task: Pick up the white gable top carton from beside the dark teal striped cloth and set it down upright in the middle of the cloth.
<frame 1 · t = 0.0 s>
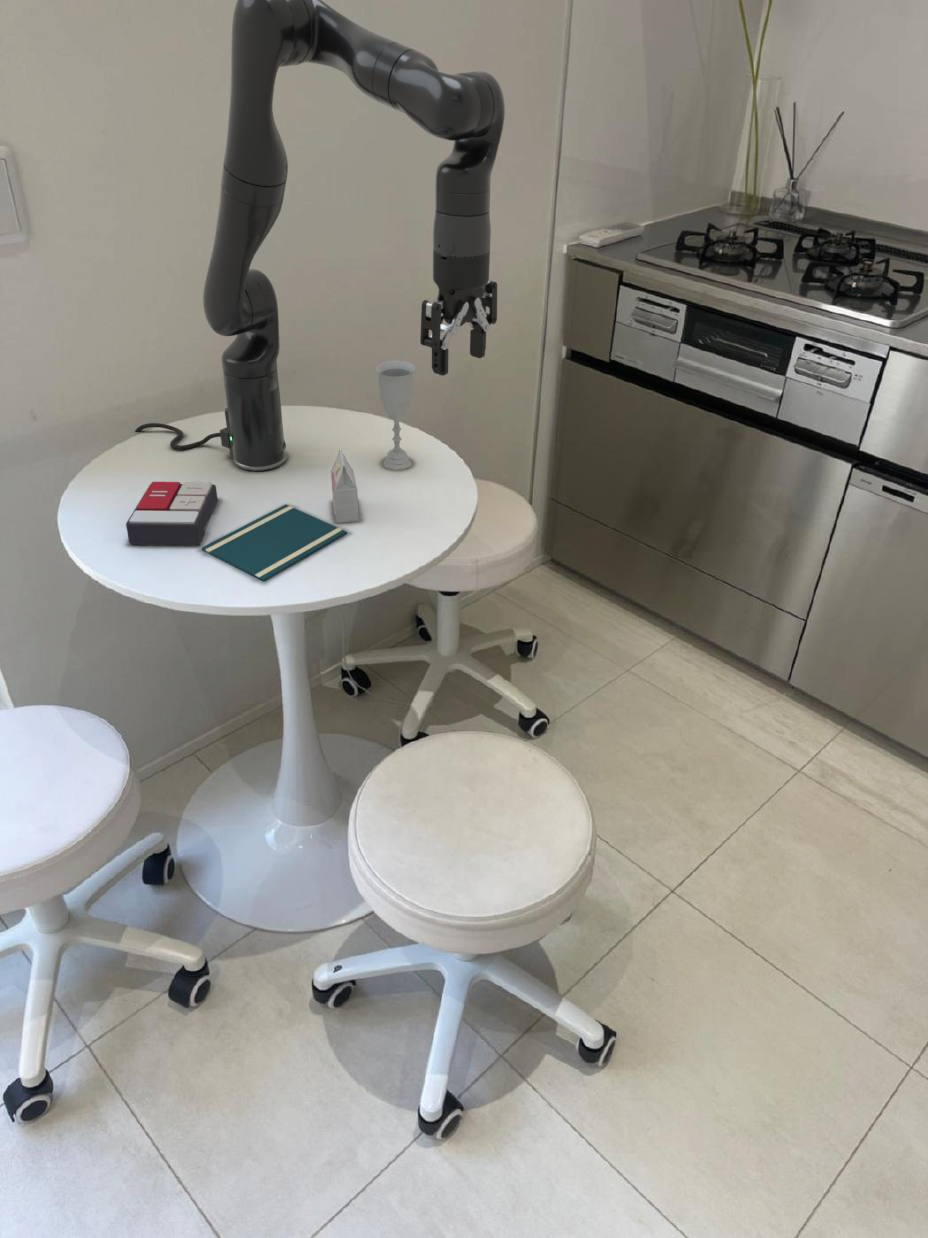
hand: (459, 364, 135), 29 cm above the table, tool pointing down, fingers open, 8 cm apart
chalice: (397, 464, 174), on the table
white gable top carton: (345, 512, 160), on the table
calculator: (175, 522, 156), on the table
cloth: (275, 541, 151), on the table
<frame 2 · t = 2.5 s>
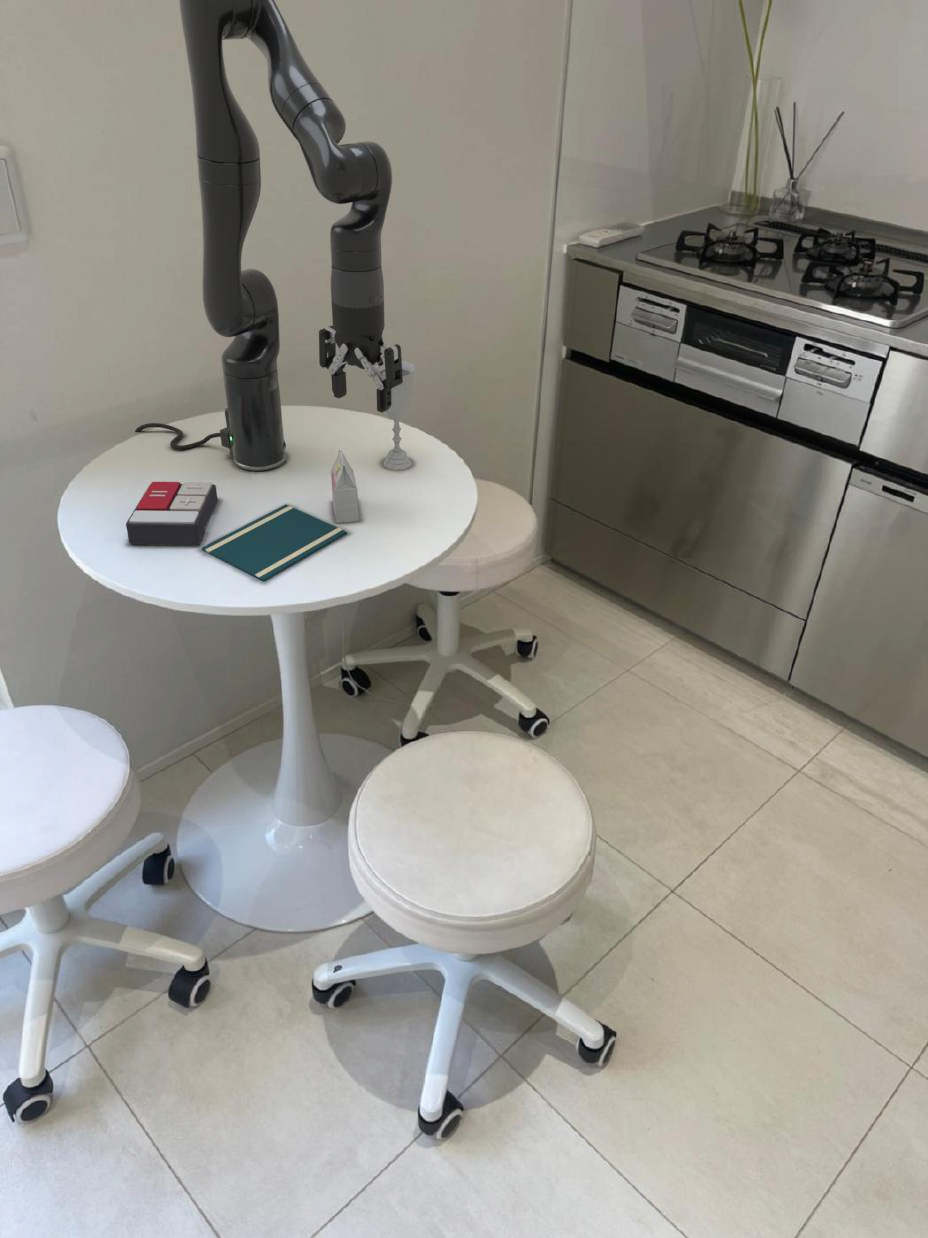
hand: (361, 403, 146), 20 cm above the table, tool pointing down, fingers open, 8 cm apart
nothing on the table moved.
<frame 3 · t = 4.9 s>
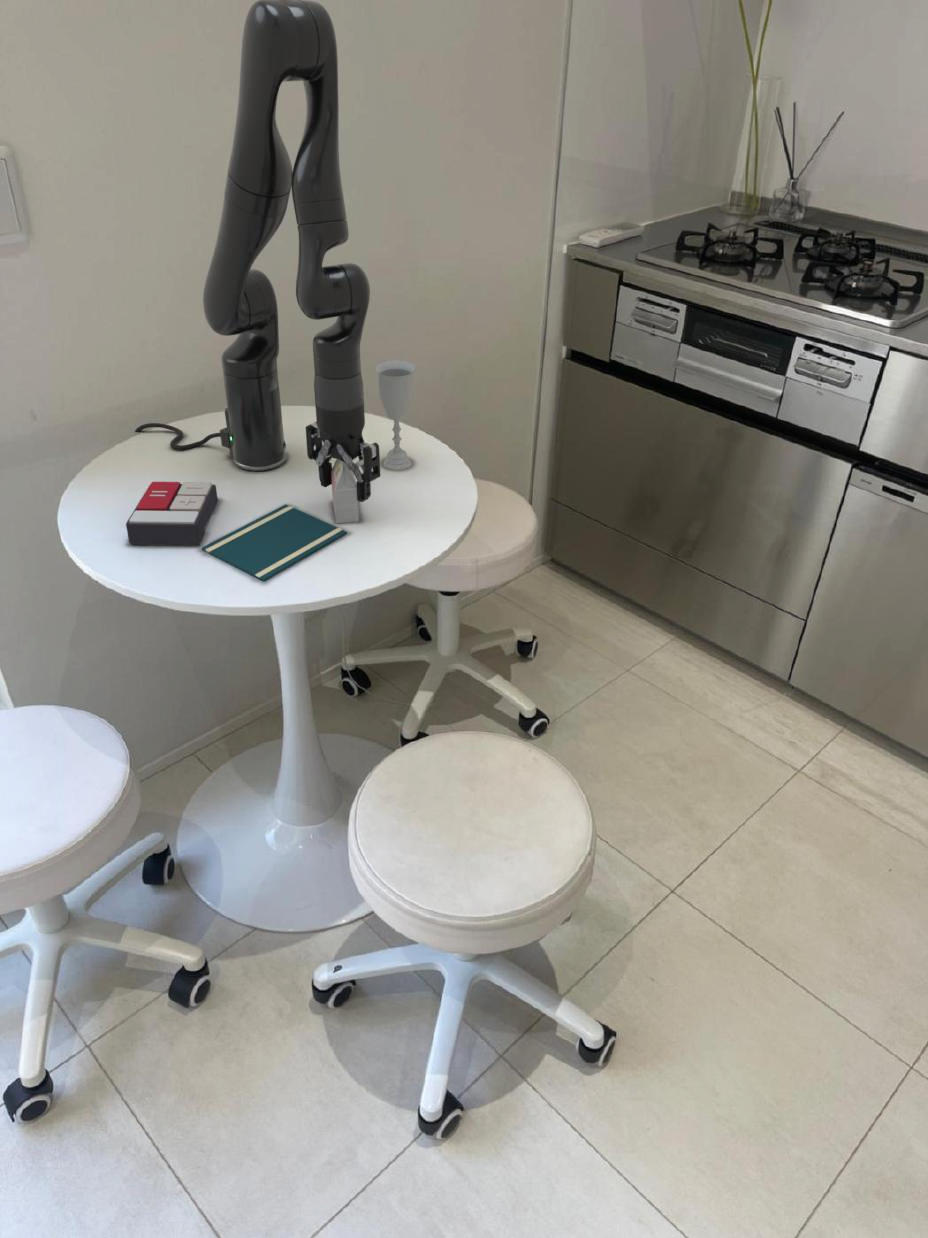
hand: (344, 492, 157), 4 cm above the table, tool pointing down, fingers closed on white gable top carton, 7 cm apart
white gable top carton: (345, 513, 160), on the table, touching gripper
everything else where it was.
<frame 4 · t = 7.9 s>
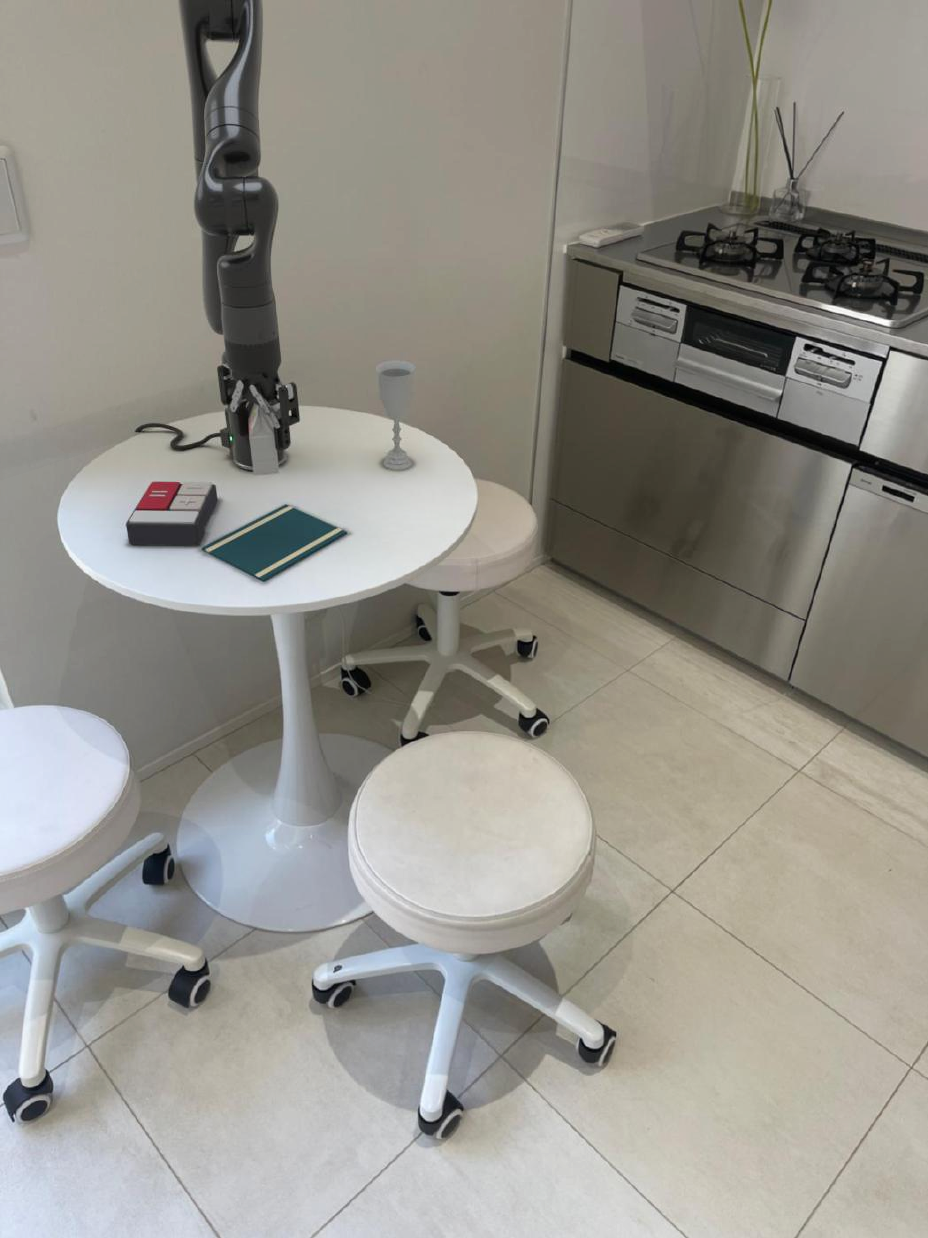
hand: (263, 441, 142), 17 cm above the table, tool pointing down, fingers closed on white gable top carton, 7 cm apart
white gable top carton: (265, 465, 144), point 13 cm above the table, touching gripper
everything else where it was.
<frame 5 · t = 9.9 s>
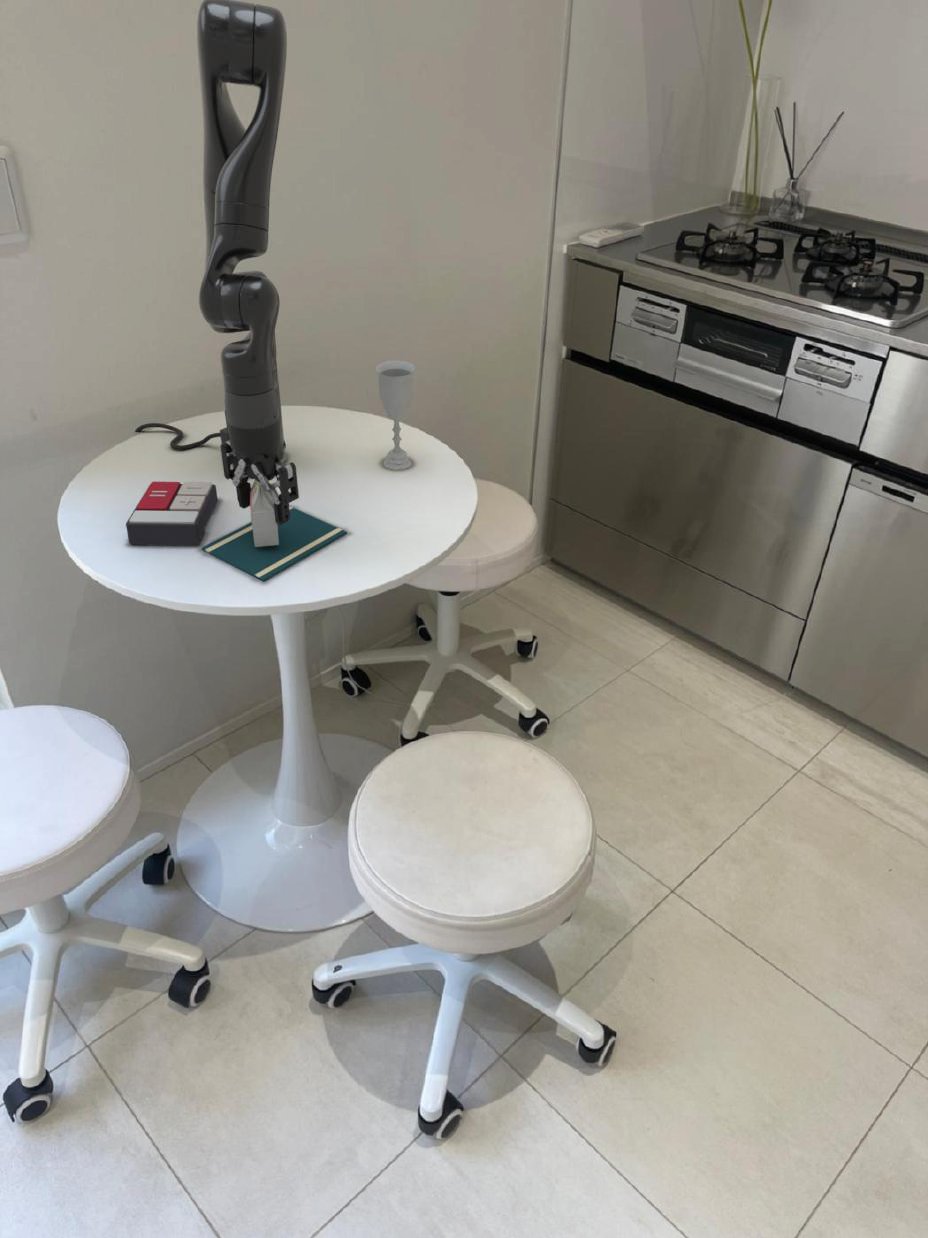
hand: (264, 514, 148), 5 cm above the table, tool pointing down, fingers closed on white gable top carton, 7 cm apart
white gable top carton: (266, 535, 151), point 1 cm above the table, touching gripper
everything else where it was.
when the fingers open (4 cm above the table, at t = 10.9 s): white gable top carton stays where it is, resting on cloth.
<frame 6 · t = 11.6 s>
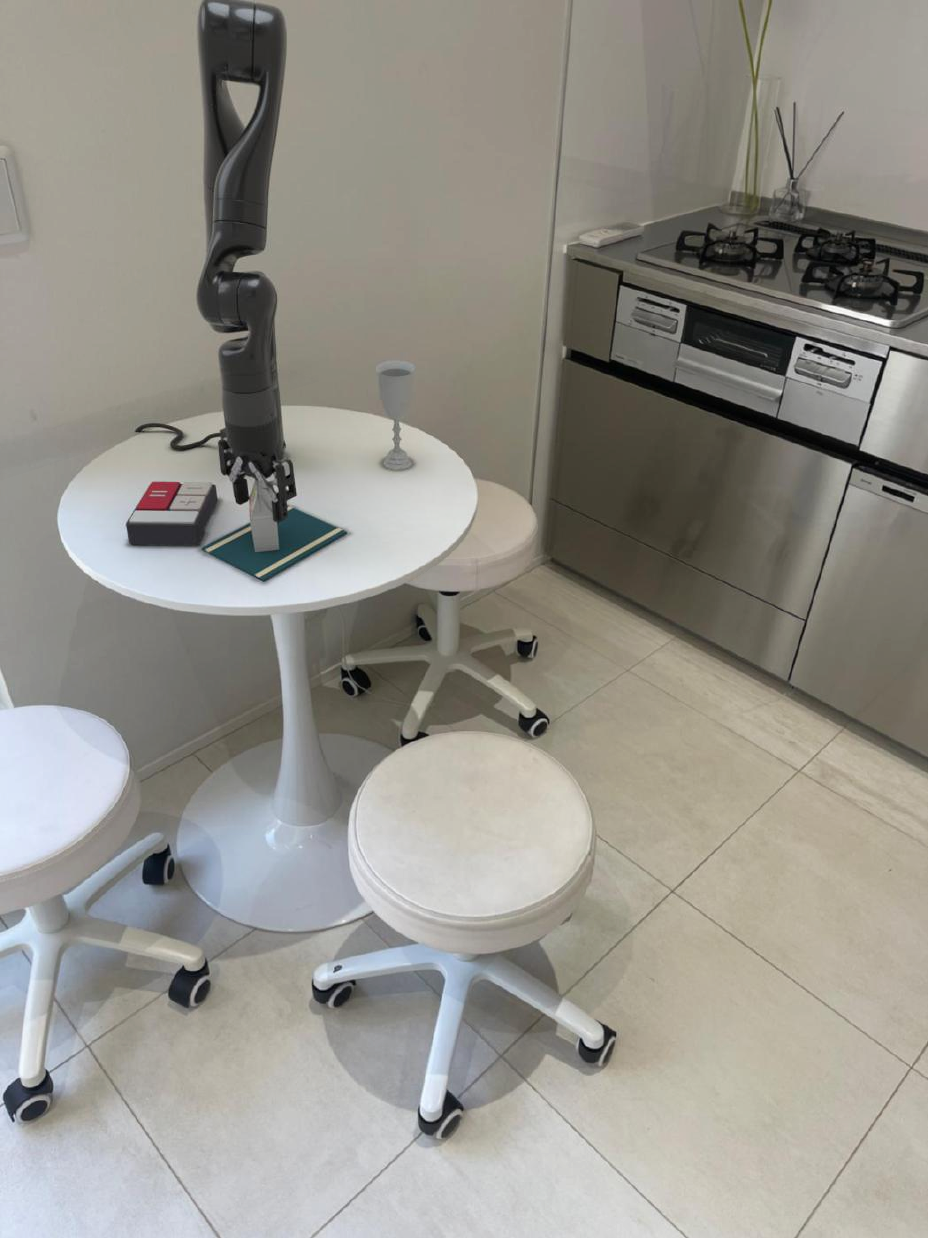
hand: (261, 511, 148), 6 cm above the table, tool pointing down, fingers open, 8 cm apart
white gable top carton: (266, 540, 151), resting on cloth, touching gripper
everything else where it was.
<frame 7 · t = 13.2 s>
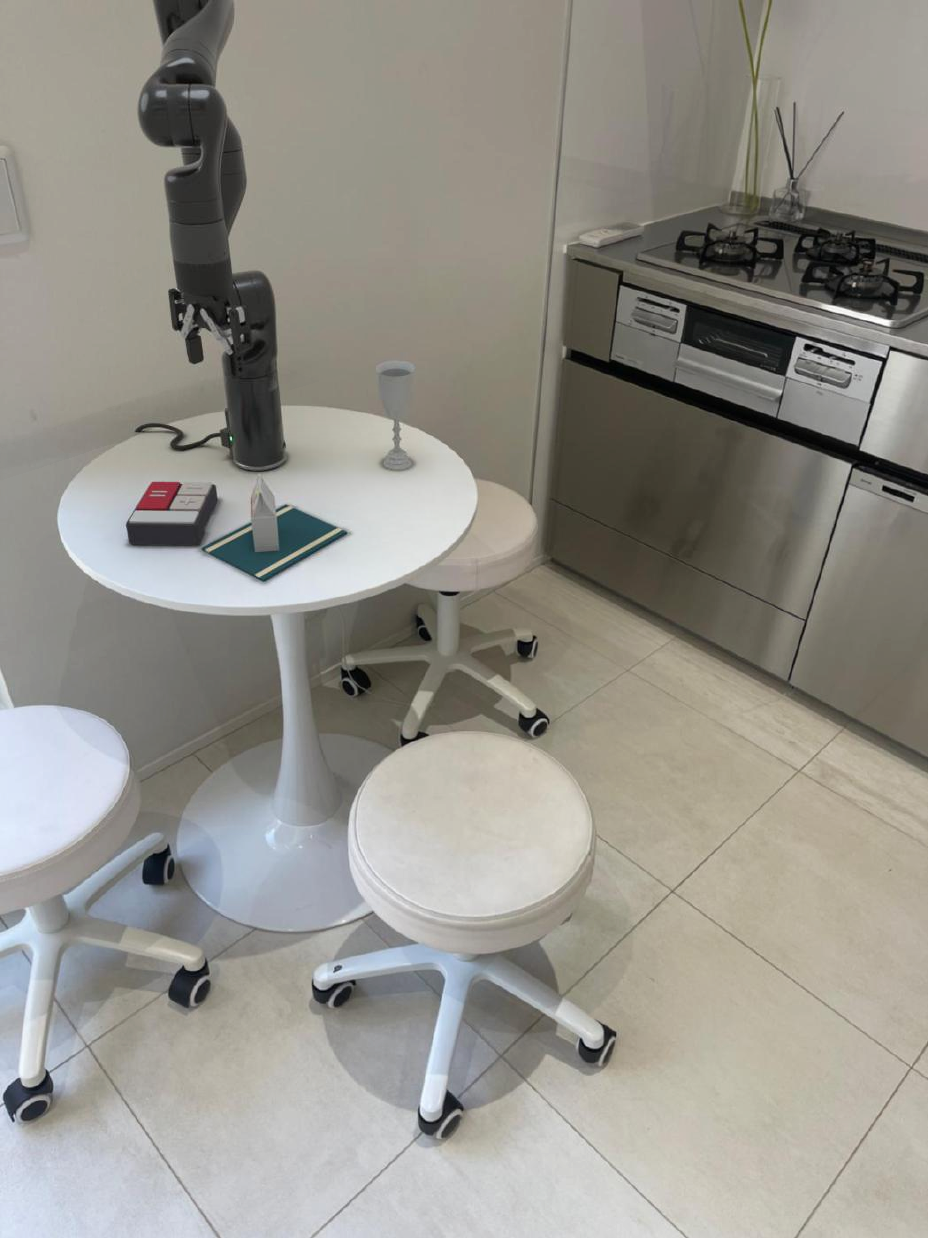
hand: (216, 369, 137), 27 cm above the table, tool pointing down, fingers open, 8 cm apart
white gable top carton: (266, 541, 151), resting on cloth
everything else where it was.
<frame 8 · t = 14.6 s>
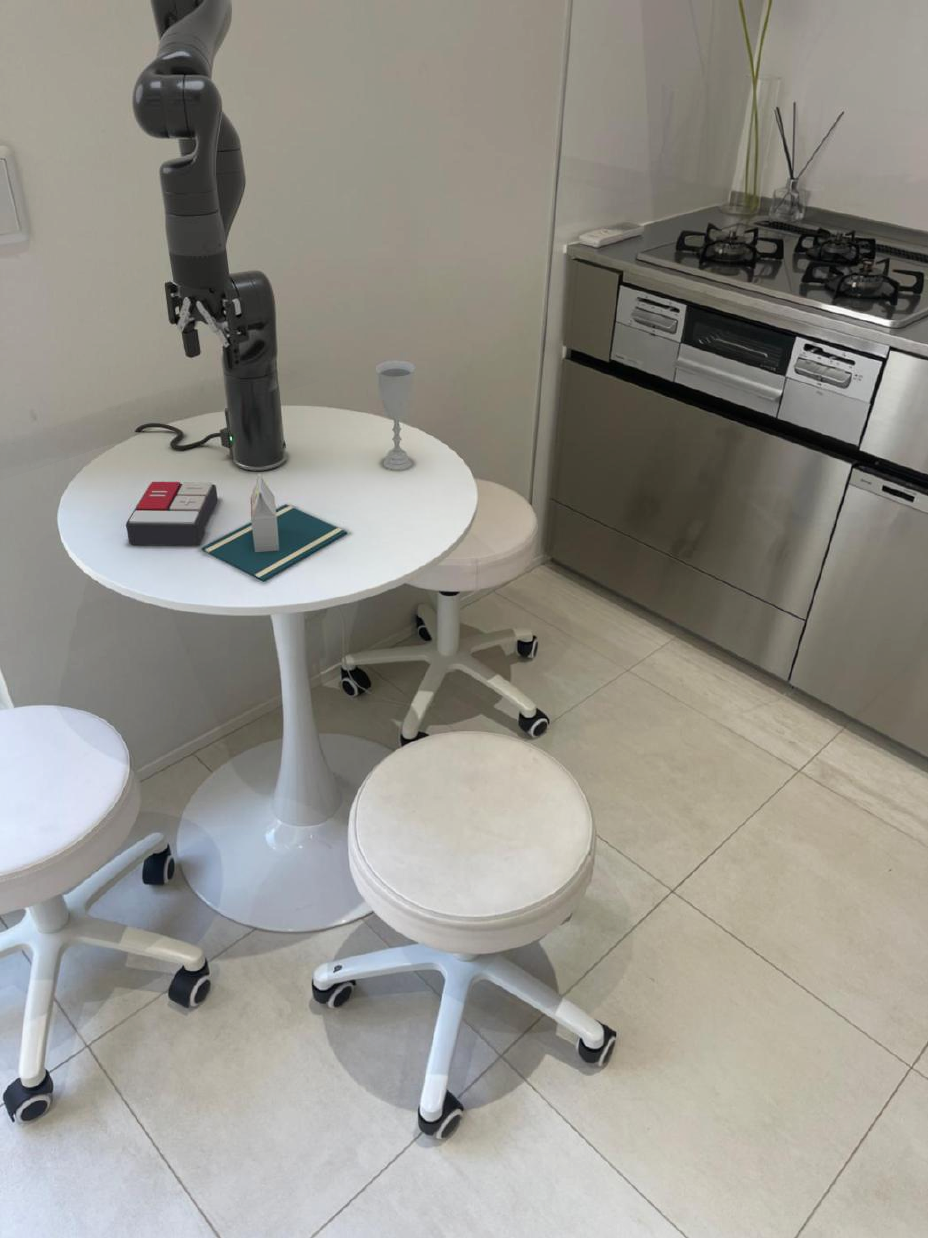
hand: (213, 362, 137), 28 cm above the table, tool pointing down, fingers open, 8 cm apart
nothing on the table moved.
at the end: white gable top carton inside the target area on the cloth (1.3 cm from its centre), point 0.2 cm above the cloth's base; the gripper is holding nothing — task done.
